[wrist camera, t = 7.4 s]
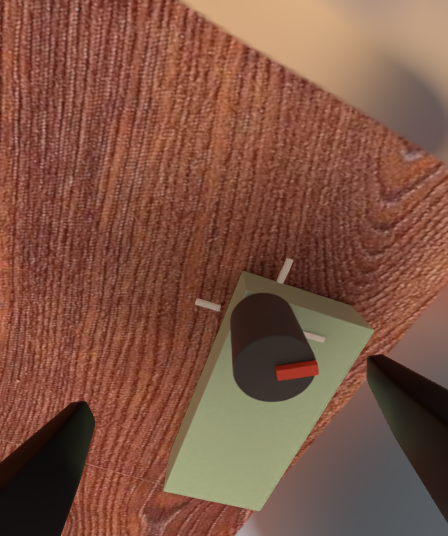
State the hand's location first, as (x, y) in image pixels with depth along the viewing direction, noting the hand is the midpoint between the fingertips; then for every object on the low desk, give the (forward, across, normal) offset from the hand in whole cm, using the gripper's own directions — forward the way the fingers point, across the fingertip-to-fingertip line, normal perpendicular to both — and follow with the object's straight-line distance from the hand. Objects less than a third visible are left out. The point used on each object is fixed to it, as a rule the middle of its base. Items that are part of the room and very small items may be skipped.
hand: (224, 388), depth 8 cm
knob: (+7, -2, +2) cm, 7 cm away
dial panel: (+10, 0, +8) cm, 13 cm away
